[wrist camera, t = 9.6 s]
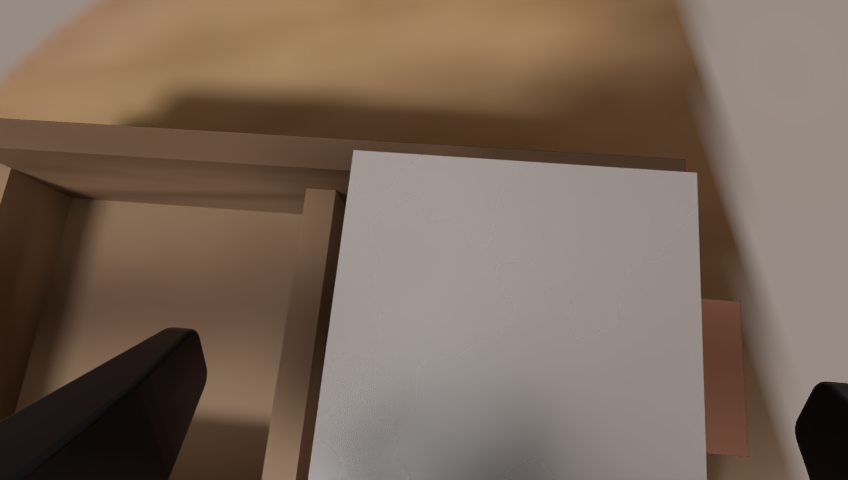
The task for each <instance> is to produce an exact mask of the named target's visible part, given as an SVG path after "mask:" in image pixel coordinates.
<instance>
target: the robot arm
mask: <svg viewBox="0 0 848 480" xmlns="http://www.w3.org/2000/svg"><path fill="white" fill-rule="evenodd" d="M206 380H207V366H206V362H205V358H204V354H203V349H202V345H201V341H200V337H199V334H198V333H197V331H195V330H193V329H190V328H178V327H169V328H166V329H164V330H162V331H160V332H158V333H157V334H155V335H153V336H151V337H150V338H148V339H146V340H144V341H142V342H141V343H139V344H137V345H135V346H133V347H132V348H130V349H128V350H126V351H125V352H123V353H121V354H119V355H117V356H116V357H114V358H112V359H110V360H109V361H107V362H105V363H103V364H101V365H100V366H98V367H96V368H94V369H93V370H91V371H89V372H87V373H85V374H84V375H82V376H80V377H78V378H77V379H75V380H73V381H71V382H69V383H68V384H66V385H64V386H62V387H60V388H59V389H57V390H55V391H53V392H52V393H50V394H48V395H46V396H44V397H43V398H41V399H39V400H37V401H36V402H34V403H32V404H30V405H28V406H27V407H25V408H23V409H21V410H20V411H18V412H16V413H14V414H12V415H11V416H9V417H7V418H5V419H3V420H2V421H0V480H168V479H169V477H170V475H171V472H172V470H173V468H174V465H175V463H176V460H177V458H178V455H179V453H180V450H181V447H182V445H183V442H184V439H185V437H186V434H187V432H188V429H189V426H190V424H191V421H192V419H193V416H194V413H195V411H196V408H197V405H198V403H199V400H200V398H201V395H202V392H203V390H204V387H205V384H206ZM795 434H796V439H797V443H798V446H799V449H800V452H801V454H802V457H803V460H804V463H805V466H806V469H807V472H808V475H809V478H810V480H848V384H847V383H836V382H821V383H819V384H817V385H816V386H815V387H814V389H813V390H812V392H811V394H810V396H809V398H808V400H807V402H806V404H805V406H804V408H803V409H802V411H801V413H800V415H799V417H798V419H797V422H796V426H795Z"/></svg>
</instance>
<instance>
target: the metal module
mask: <svg viewBox="0 0 848 480" xmlns="http://www.w3.org/2000/svg"><path fill="white" fill-rule="evenodd" d="M308 480H707V468H706V437H705V406H704V375H703V344H702V312H701V281H700V250H699V219H698V188H697V173H693V172H678V171H662V170H647V169H632V168H617V167H602V166H587V165H572V164H556V163H541V162H526V161H511V160H496V159H481V158H466V157H450V156H435V155H420V154H405V153H390V152H375V151H360V150H353V158H352V165H351V172H350V179H349V187H348V194H347V201H346V208H345V215H344V223H343V230H342V237H341V244H340V252H339V259H338V266H337V273H336V280H335V288H334V295H333V302H332V309H331V316H330V324H329V331H328V338H327V345H326V353H325V360H324V367H323V374H322V381H321V389H320V396H319V403H318V410H317V418H316V425H315V432H314V439H313V446H312V454H311V461H310V468H309V475H308Z"/></svg>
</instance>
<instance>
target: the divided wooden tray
mask: <svg viewBox="0 0 848 480" xmlns="http://www.w3.org/2000/svg"><path fill="white" fill-rule="evenodd" d="M353 150H360V151H375V152H390V153H405V154H420V155H435V156H450V157H466V158H481V159H496V160H511V161H526V162H541V163H556V164H572V165H587V166H602V167H617V168H632V169H647V170H662V171H678V172H686V169H685V159H668V158H652V157H635V156H619V155H602V154H585V153H569V152H552V151H535V150H519V149H502V148H485V147H469V146H452V145H436V144H419V143H402V142H386V141H369V140H352V139H336V138H319V137H302V136H286V135H269V134H253V133H236V132H219V131H203V130H186V129H169V128H153V127H136V126H119V125H103V124H86V123H69V122H53V121H36V120H20V119H3V118H0V421H2V420H3V419H5V418H7V417H9V416H11V415H12V414H14V413H16V412H18V411H20V410H21V409H23V408H25V407H27V406H28V405H30V404H32V403H34V402H36V401H37V400H39V399H41V398H43V397H44V396H46V395H48V394H50V393H52V392H53V391H55V390H57V389H59V388H60V387H62V386H64V385H66V384H68V383H69V382H71V381H73V380H75V379H77V378H78V377H80V376H82V375H84V374H85V373H87V372H89V371H91V370H93V369H94V368H96V367H98V366H100V365H101V364H103V363H105V362H107V361H109V360H110V359H112V358H114V357H116V356H117V355H119V354H121V353H123V352H125V351H126V350H128V349H130V348H132V347H133V346H135V345H137V344H139V343H141V342H142V341H144V340H146V339H148V338H150V337H151V336H153V335H155V334H157V333H158V332H160V331H162V330H164V329H166V328H169V327H178V328H190V329H193V330H195V331H197V333H198V334H199V337H200V341H201V345H202V349H203V354H204V358H205V362H206V366H207V380H206V384H205V387H204V390H203V392H202V395H201V398H200V400H199V403H198V405H197V408H196V411H195V413H194V416H193V419H192V421H191V424H190V426H189V429H188V432H187V434H186V437H185V439H184V442H183V445H182V447H181V450H180V453H179V455H178V458H177V460H176V463H175V465H174V468H173V470H172V472H171V475H170V477H169V479H168V480H308V475H309V468H310V461H311V454H312V446H313V439H314V432H315V425H316V418H317V410H318V403H319V396H320V389H321V381H322V374H323V367H324V360H325V353H326V345H327V338H328V331H329V324H330V316H331V309H332V302H333V295H334V288H335V280H336V273H337V266H338V259H339V252H340V244H341V237H342V230H343V223H344V215H345V208H346V201H347V194H348V187H349V179H350V172H351V165H352V158H353ZM701 312H702V344H703V375H704V406H705V437H706V453H710V454H720V455H730V456H740V457H749V454H748V435H747V417H746V399H745V381H744V363H743V344H742V326H741V308H740V302H739V301H727V300H714V299H702V298H701Z"/></svg>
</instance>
